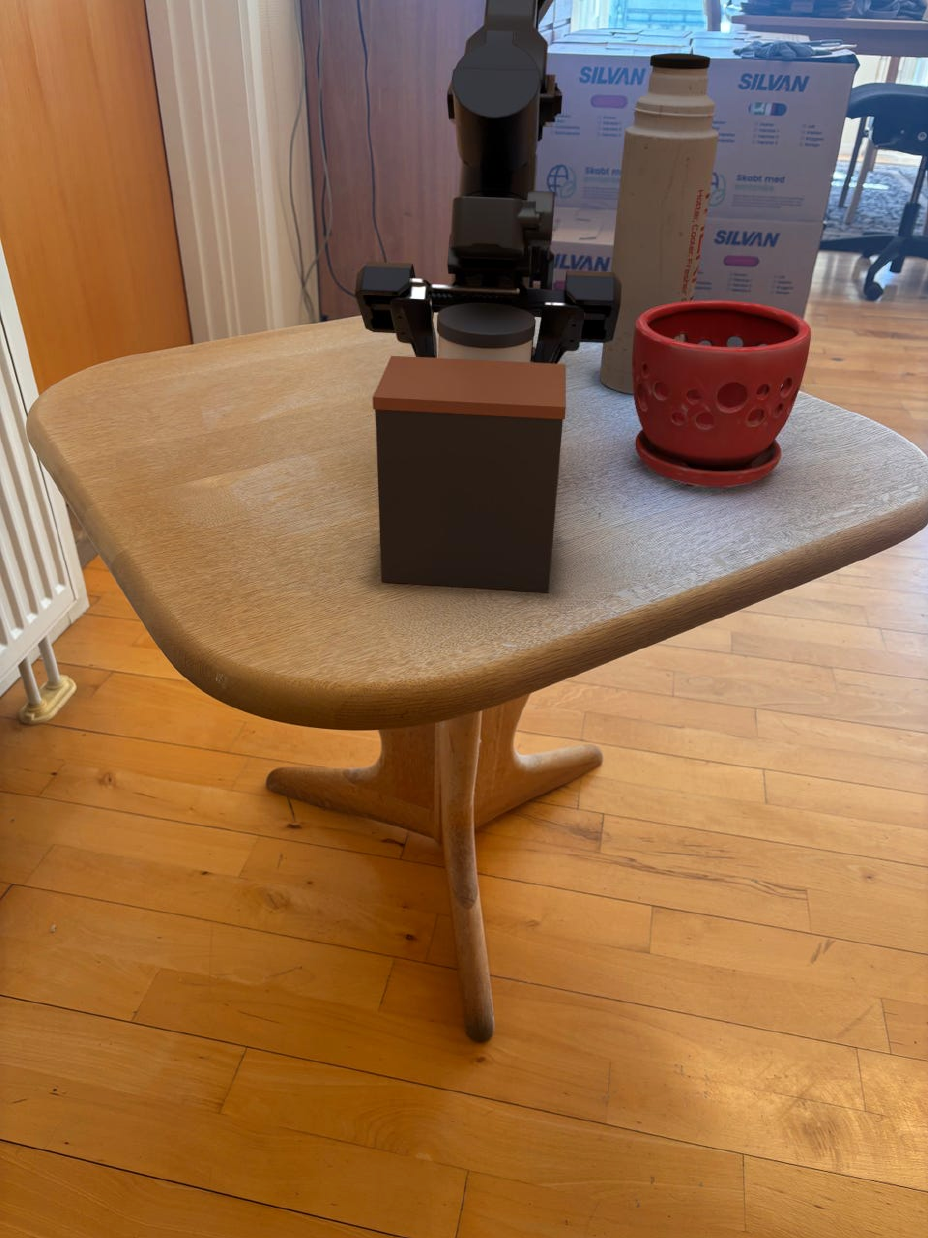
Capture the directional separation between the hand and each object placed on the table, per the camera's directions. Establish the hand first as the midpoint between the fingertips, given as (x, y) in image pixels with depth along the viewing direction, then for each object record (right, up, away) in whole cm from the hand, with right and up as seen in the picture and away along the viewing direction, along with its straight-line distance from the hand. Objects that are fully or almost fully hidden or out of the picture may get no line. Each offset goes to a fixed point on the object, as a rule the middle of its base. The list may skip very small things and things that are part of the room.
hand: (480, 412), depth 67 cm
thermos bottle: (+16, +9, +27) cm, 33 cm away
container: (0, -5, +5) cm, 7 cm away
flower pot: (+18, -2, +11) cm, 21 cm away
